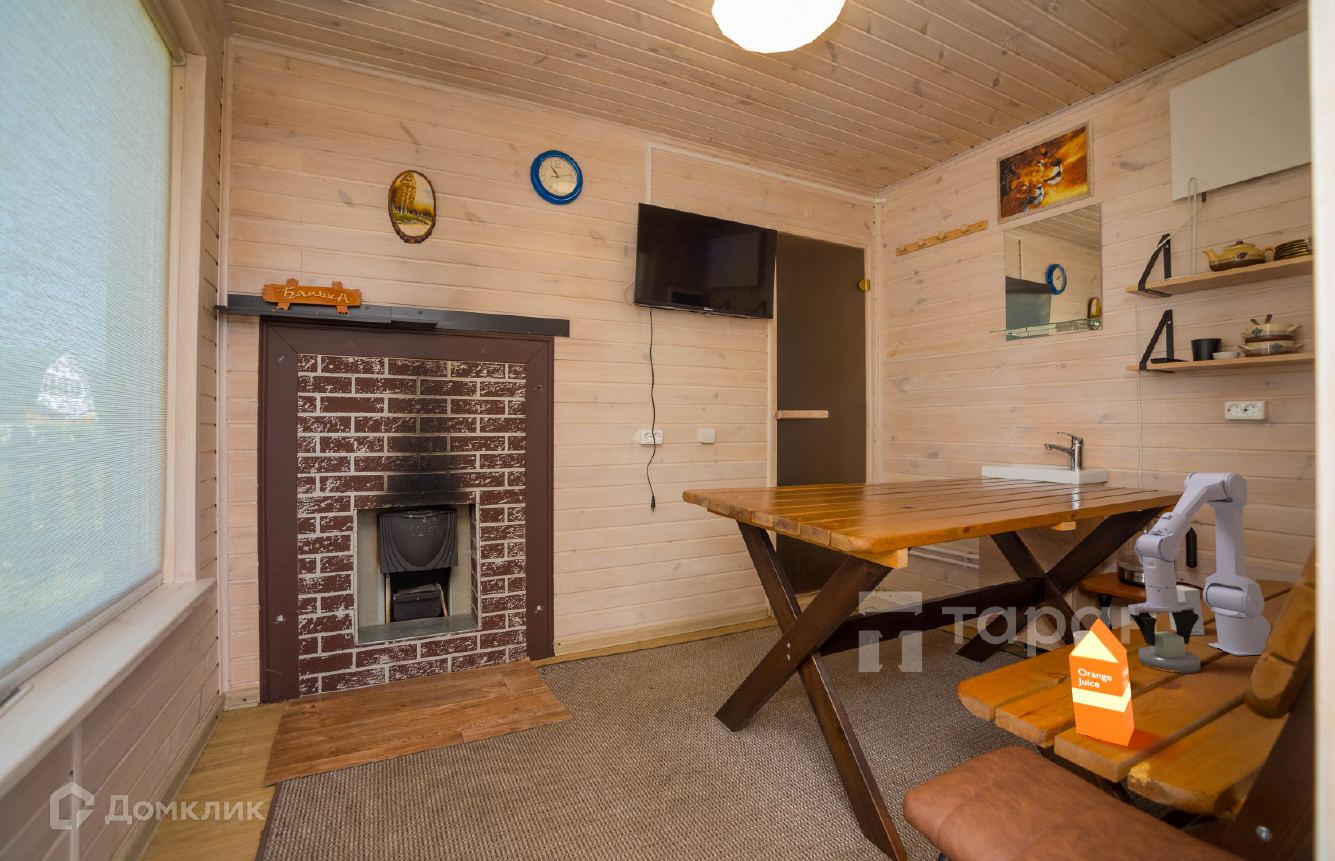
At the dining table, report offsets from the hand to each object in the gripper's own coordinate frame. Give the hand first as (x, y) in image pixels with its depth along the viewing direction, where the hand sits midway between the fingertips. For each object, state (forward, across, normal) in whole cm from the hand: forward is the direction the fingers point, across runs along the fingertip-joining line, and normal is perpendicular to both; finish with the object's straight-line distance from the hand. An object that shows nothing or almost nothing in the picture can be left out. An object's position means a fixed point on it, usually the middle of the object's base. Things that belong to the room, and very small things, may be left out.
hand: (1166, 643), depth 137 cm
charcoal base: (+5, 0, 0) cm, 5 cm away
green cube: (+2, 0, 0) cm, 2 cm away
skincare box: (+5, -22, -22) cm, 32 cm away
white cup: (+5, +21, +7) cm, 23 cm away
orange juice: (+5, +35, +30) cm, 46 cm away
